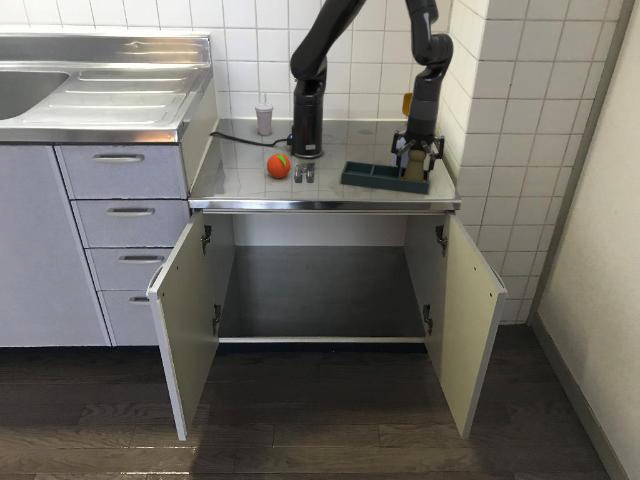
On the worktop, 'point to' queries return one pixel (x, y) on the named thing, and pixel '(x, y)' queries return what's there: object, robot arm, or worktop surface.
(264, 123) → the smoothie
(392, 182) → the tray
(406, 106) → the soap bottle
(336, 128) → the worktop surface
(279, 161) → the clementine
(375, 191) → the worktop surface
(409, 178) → the cork
